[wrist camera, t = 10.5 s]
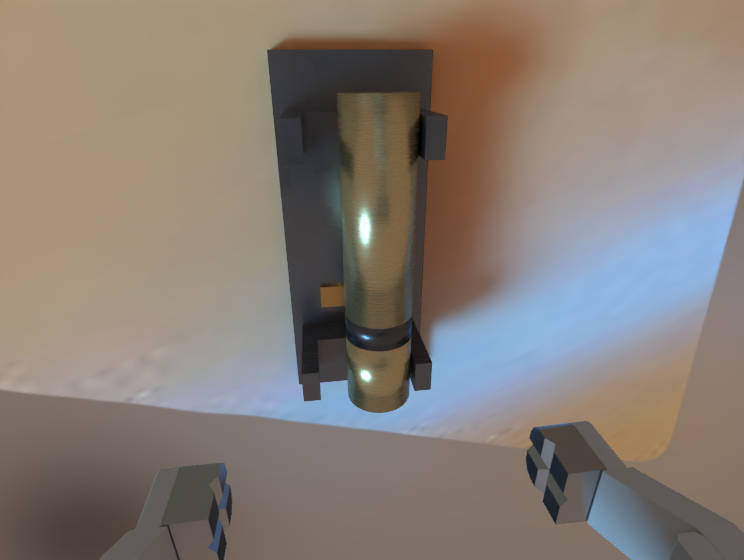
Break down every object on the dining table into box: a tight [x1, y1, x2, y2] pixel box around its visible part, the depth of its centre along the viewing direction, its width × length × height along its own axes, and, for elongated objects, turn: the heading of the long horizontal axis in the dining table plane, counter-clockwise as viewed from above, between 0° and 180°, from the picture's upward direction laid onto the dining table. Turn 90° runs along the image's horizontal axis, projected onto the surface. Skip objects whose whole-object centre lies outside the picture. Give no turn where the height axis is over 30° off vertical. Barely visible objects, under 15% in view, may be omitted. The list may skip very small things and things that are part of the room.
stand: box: [267, 50, 448, 401], centre depth 26 cm, size 22×9×6 cm, turn 0°
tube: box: [337, 92, 420, 413], centre depth 25 cm, size 18×4×4 cm, turn 0°
